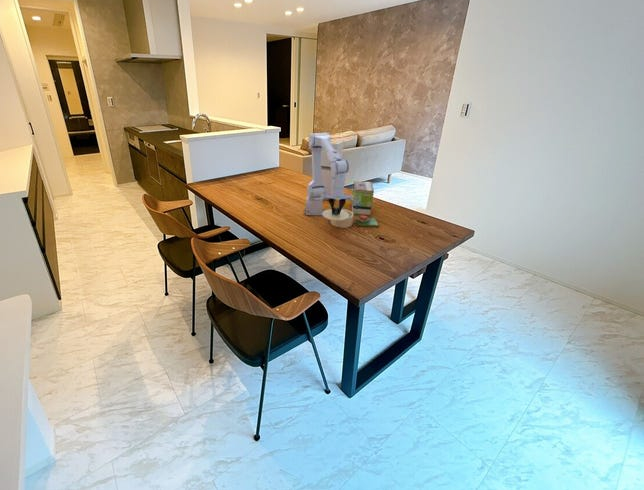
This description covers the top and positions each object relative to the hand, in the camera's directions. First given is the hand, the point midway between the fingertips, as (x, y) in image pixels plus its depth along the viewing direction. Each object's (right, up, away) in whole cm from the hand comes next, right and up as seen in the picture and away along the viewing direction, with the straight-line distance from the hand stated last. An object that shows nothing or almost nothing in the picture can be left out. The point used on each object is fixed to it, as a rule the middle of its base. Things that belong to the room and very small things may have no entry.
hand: (335, 213), depth 142 cm
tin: (+6, -5, +14) cm, 16 cm away
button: (+17, -3, +12) cm, 21 cm away
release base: (+19, -5, +13) cm, 23 cm away
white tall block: (+5, +11, +47) cm, 49 cm away
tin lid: (0, -1, 0) cm, 1 cm away
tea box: (+20, +2, +29) cm, 35 cm away
